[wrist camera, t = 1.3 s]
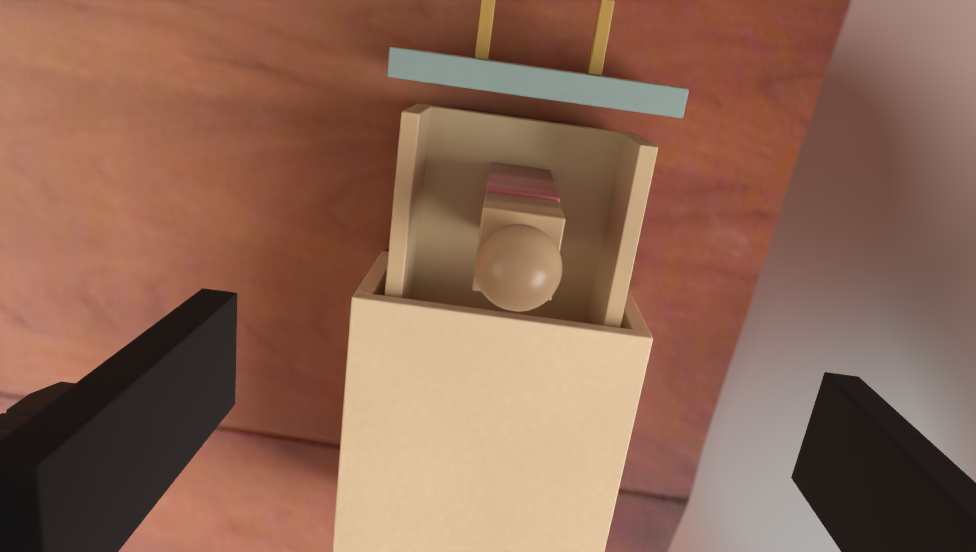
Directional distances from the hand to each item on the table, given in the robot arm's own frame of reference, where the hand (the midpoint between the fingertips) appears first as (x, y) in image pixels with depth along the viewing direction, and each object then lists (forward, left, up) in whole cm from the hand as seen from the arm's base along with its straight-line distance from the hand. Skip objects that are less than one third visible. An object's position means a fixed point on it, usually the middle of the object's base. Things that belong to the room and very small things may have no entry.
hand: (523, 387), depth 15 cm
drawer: (-1, -1, -21) cm, 21 cm away
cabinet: (+9, +8, -22) cm, 25 cm away
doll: (0, 0, -20) cm, 20 cm away
